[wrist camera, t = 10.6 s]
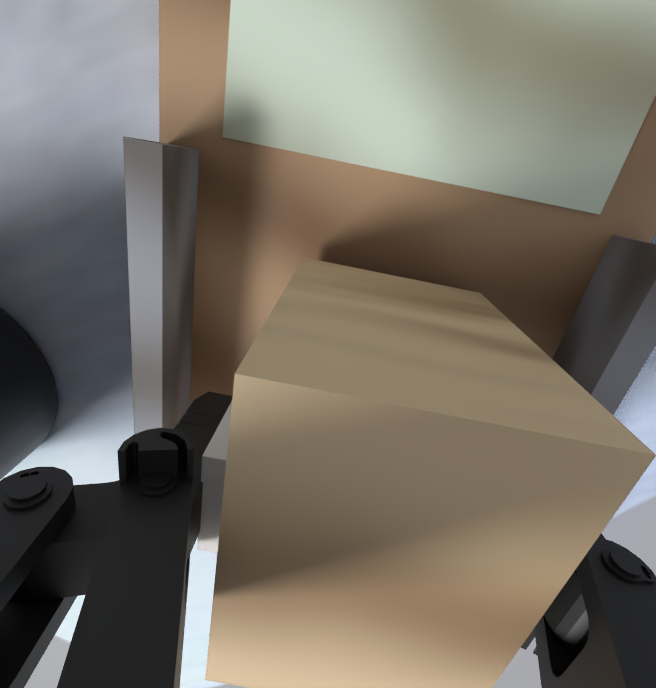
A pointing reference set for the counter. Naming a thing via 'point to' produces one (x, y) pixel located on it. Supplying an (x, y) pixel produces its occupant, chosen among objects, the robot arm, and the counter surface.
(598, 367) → the slot board
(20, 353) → the mug
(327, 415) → the oak block
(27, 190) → the counter surface
